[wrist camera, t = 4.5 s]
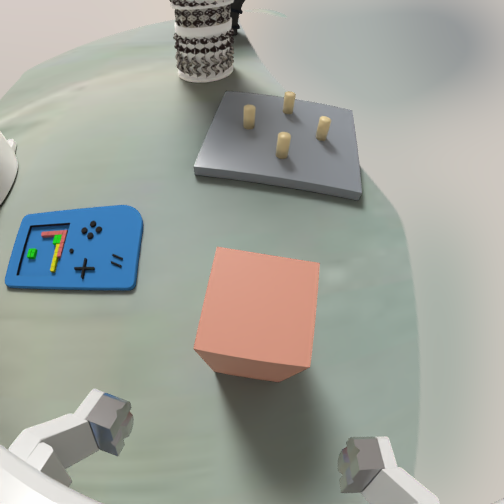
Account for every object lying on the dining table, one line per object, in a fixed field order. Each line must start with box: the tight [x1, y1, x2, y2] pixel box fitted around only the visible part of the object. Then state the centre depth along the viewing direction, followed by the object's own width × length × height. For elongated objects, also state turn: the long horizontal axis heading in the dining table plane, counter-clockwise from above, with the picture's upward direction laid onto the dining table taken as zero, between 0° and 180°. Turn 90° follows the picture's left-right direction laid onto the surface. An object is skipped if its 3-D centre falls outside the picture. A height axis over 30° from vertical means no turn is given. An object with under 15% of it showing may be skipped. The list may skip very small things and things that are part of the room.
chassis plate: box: [194, 91, 362, 200], centre depth 30 cm, size 16×14×4 cm
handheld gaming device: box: [5, 205, 143, 290], centre depth 24 cm, size 8×1×15 cm
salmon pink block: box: [194, 247, 320, 382], centre depth 17 cm, size 5×5×10 cm
